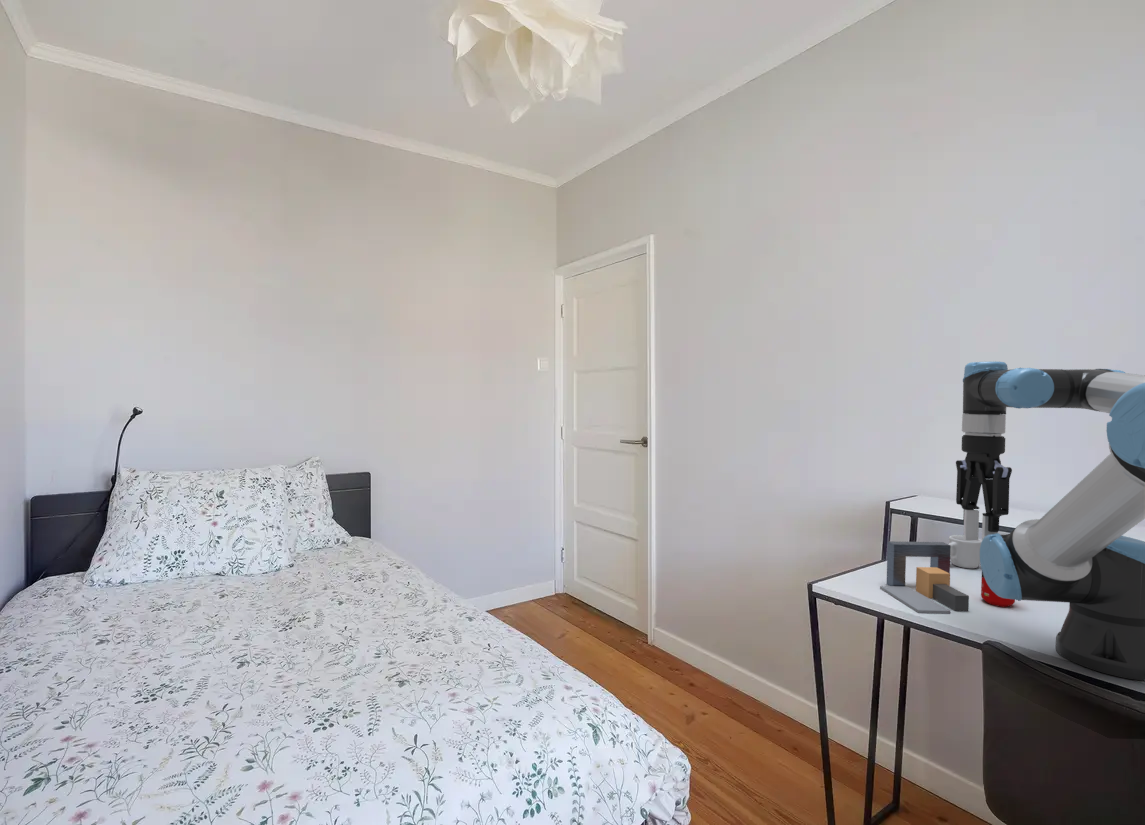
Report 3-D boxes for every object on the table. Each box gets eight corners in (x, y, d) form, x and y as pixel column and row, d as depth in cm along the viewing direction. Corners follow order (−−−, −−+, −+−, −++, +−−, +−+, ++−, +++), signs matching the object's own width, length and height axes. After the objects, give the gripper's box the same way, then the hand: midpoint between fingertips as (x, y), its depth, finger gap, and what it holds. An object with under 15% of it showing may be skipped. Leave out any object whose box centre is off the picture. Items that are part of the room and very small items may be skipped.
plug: (972, 611, 126) (973, 584, 126) (950, 611, 126) (951, 584, 126) (936, 591, 139) (936, 567, 139) (915, 591, 139) (916, 567, 139)
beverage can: (1004, 599, 134) (1005, 549, 134) (1021, 609, 128) (1022, 556, 128) (975, 597, 135) (976, 547, 135) (990, 607, 129) (992, 555, 129)
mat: (950, 613, 125) (950, 610, 125) (918, 613, 125) (918, 610, 125) (908, 588, 141) (908, 586, 141) (880, 588, 141) (880, 586, 141)
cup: (958, 571, 155) (959, 543, 155) (933, 563, 163) (934, 536, 163) (989, 569, 158) (990, 541, 158) (963, 561, 166) (964, 534, 165)
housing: (949, 588, 141) (950, 545, 141) (893, 588, 141) (894, 544, 141) (941, 584, 144) (942, 542, 144) (886, 584, 144) (887, 541, 144)
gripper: (1035, 437, 111) (1031, 555, 112) (971, 432, 129) (968, 533, 130) (996, 437, 111) (992, 554, 112) (938, 431, 129) (935, 532, 130)
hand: (979, 542), depth 121 cm, fingers open, 5 cm apart
